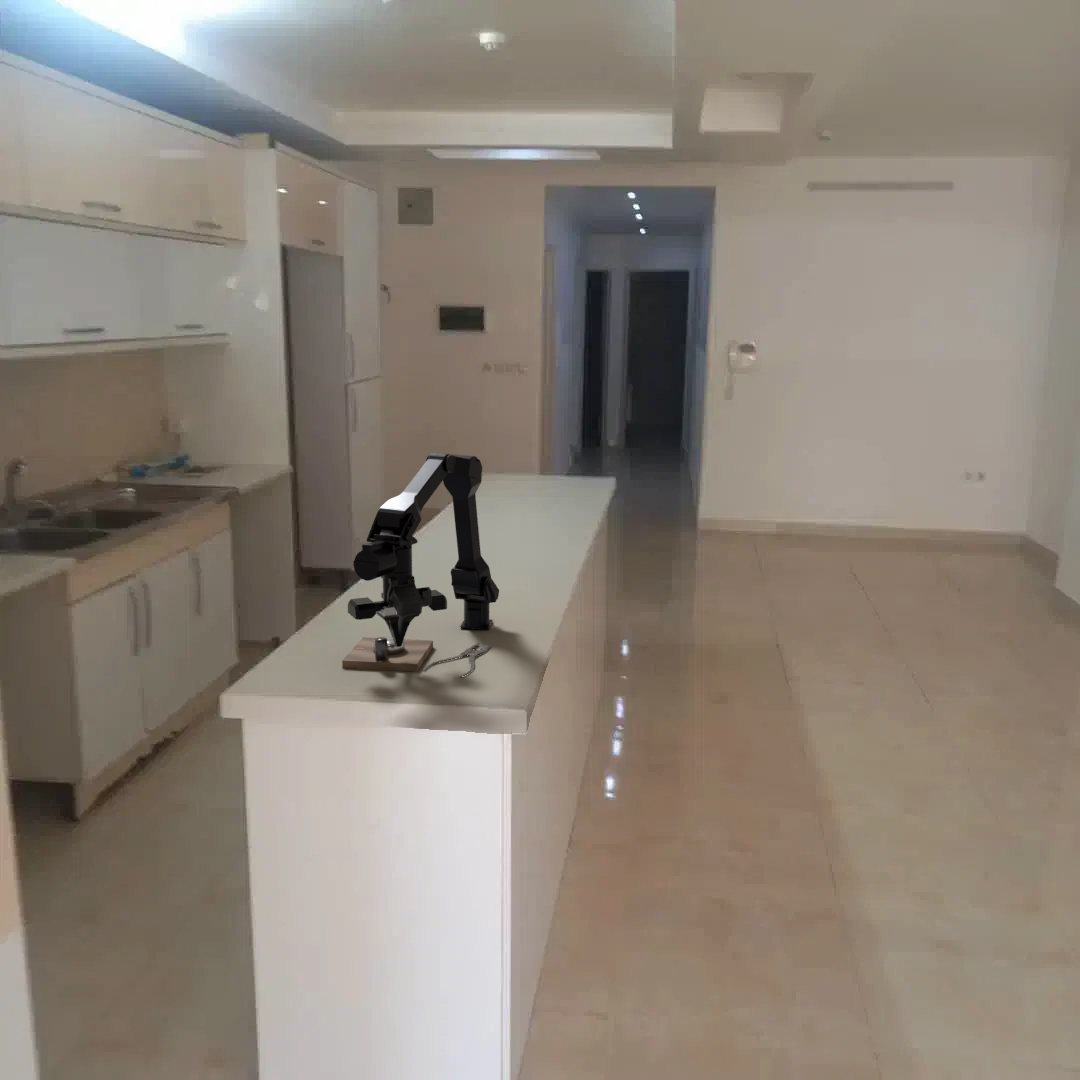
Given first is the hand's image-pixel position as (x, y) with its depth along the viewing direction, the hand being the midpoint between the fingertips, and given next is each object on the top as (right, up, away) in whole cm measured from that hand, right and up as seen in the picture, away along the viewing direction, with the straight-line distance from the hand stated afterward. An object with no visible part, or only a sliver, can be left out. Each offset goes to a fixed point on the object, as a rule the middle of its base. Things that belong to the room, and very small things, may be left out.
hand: (398, 646), depth 200 cm
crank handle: (-3, -2, +4) cm, 5 cm away
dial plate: (-3, -3, +6) cm, 7 cm away
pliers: (+11, -4, +5) cm, 13 cm away
